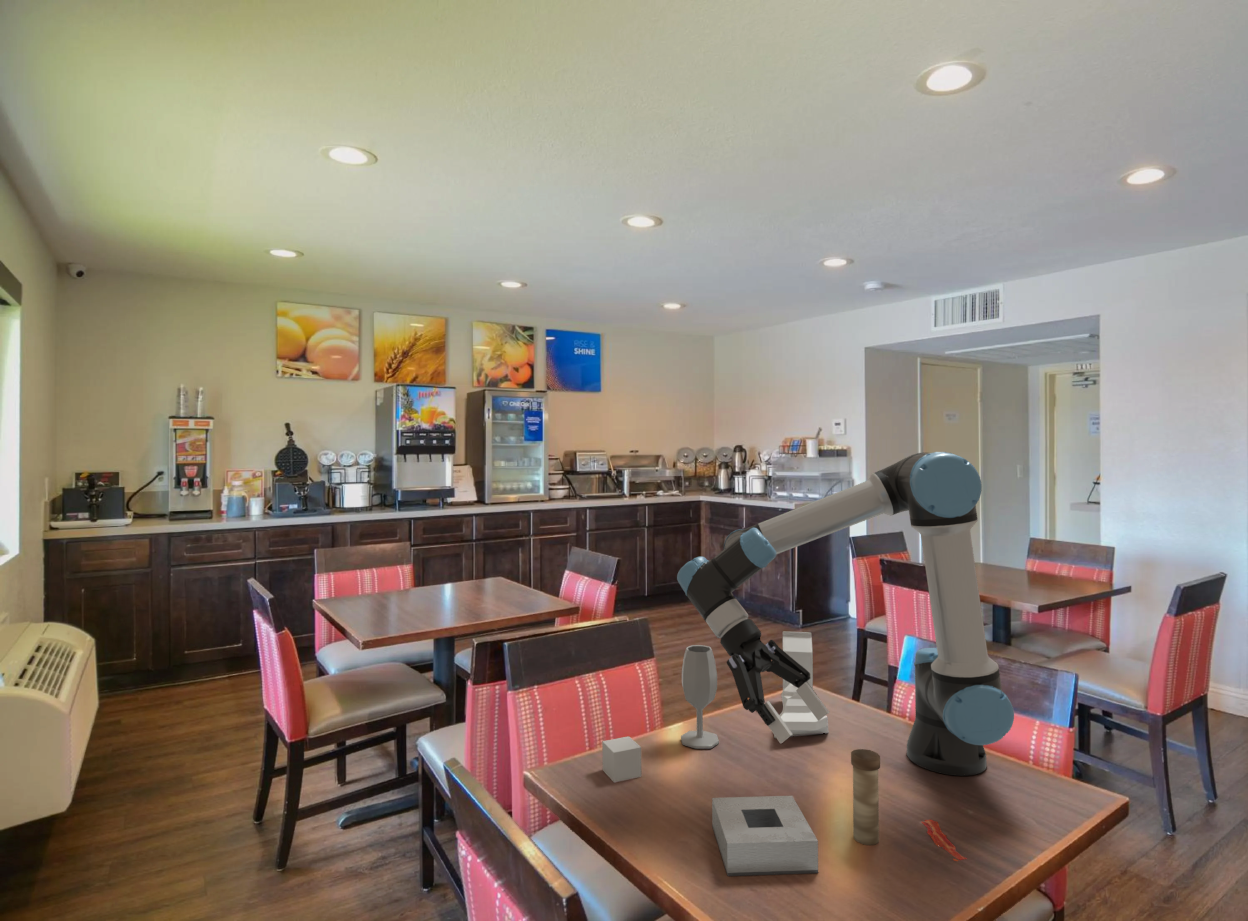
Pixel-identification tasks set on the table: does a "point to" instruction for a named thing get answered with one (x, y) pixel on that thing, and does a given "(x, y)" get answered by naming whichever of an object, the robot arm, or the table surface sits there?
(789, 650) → the milk carton
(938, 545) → the robot arm
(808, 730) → the soft serve ice cream
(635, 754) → the grey cube
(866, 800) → the beige cylinder
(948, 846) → the bacon strip
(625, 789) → the table surface
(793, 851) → the block
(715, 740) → the wineglass
